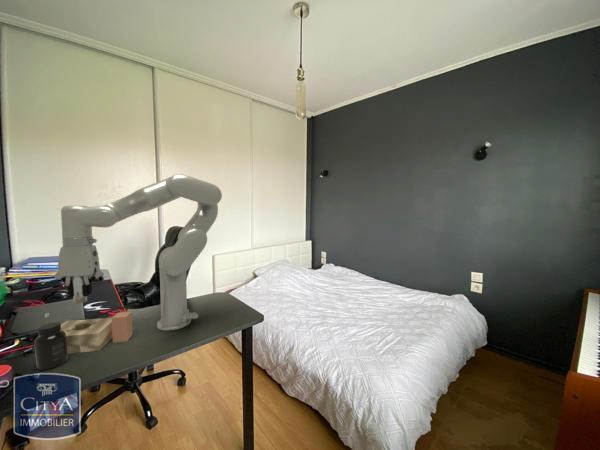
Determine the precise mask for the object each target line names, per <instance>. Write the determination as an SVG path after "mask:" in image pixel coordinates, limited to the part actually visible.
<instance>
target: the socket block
mask: <svg viewBox="0 0 600 450" xmlns="http://www.w3.org/2000/svg"><path fill="white" fill-rule="evenodd" d="M60 324H61V330H62V331H64V332H65V333H66V341H67V353H68V355H69V354H80V353H90V352H99V351H101V350H102V349H103V348H104V347H105V346H106V345H107V344H108V343H109V342H110V341H111V340H113V337H112V317H101V318H91V319H90V318H89V319H76V320H75V319H74V320H65V321H64V322H63V323H60Z"/></svg>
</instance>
